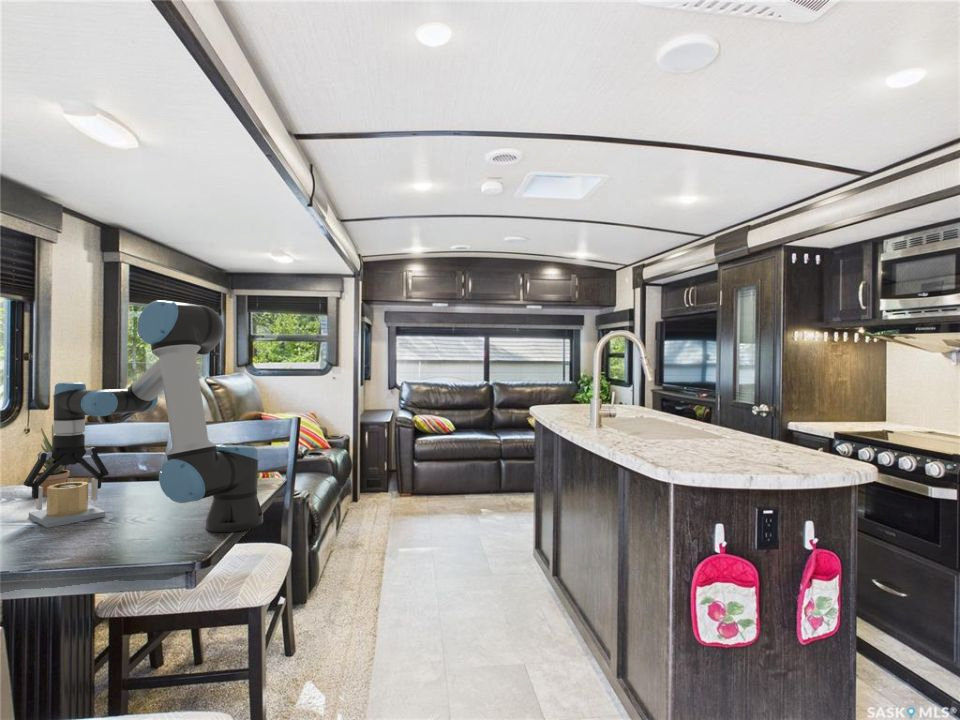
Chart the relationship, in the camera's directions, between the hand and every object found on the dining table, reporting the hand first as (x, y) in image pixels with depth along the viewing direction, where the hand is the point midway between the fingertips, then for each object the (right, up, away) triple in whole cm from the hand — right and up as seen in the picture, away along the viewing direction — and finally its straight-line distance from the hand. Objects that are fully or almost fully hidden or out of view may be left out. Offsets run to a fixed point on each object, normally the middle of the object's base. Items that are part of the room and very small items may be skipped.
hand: (67, 504), depth 156 cm
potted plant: (-27, -4, +27) cm, 38 cm away
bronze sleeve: (0, -2, 0) cm, 2 cm away
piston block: (0, -4, 0) cm, 4 cm away
